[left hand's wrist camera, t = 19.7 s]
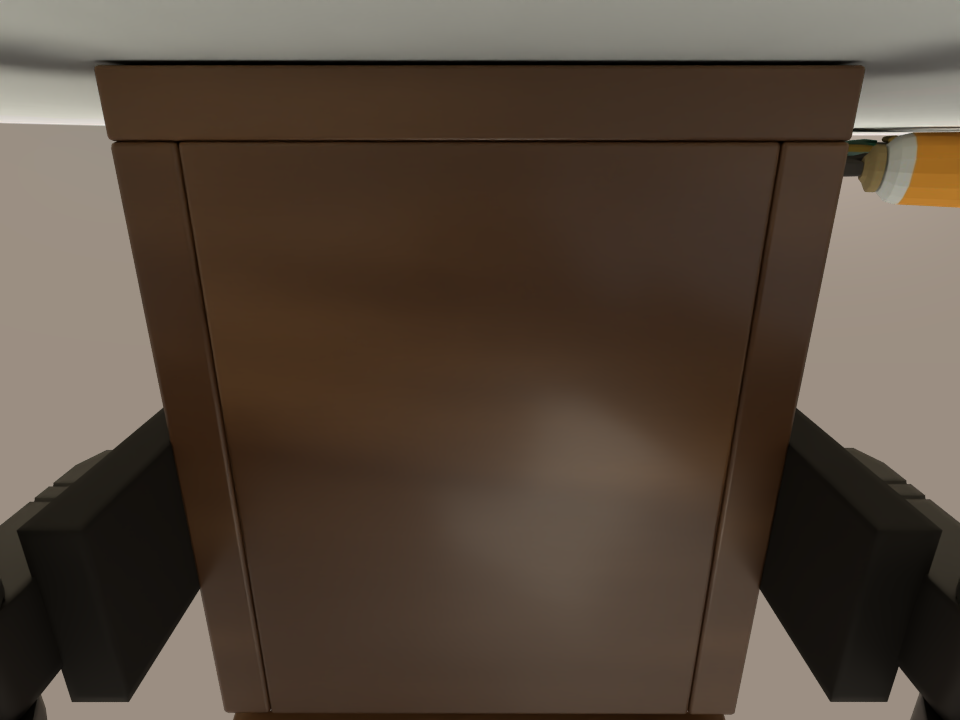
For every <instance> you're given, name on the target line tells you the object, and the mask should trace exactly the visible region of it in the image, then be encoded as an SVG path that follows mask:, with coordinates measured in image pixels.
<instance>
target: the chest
mask: <svg viewBox="0 0 960 720" xmlns="http://www.w3.org/2000/svg"><path fill="white" fill-rule="evenodd" d="M94 71H95V76H96V81H97V86H98V91H99V95H100V100H101V105H102V110H103V115H104V120H105V125H106V130H107V135H108V138H109V139H110V140H113V141H116V142H114V143H112V147H111V149H112V154H113V159H114V164H115V169H116V174H117V179H118V184H119V189H120V194H121V199H122V204H123V209H124V214H125V219H126V224H127V229H128V234H129V239H130V244H131V249H132V253H133V258H134V263H135V268H136V273H137V278H138V283H139V288H140V293H141V298H142V303H143V308H144V313H145V318H146V323H147V328H148V333H149V338H150V343H151V348H152V352H153V358H154V363H155V367H156V373H157V378H158V383H159V387H160V392H161V397H162V402H163V407H164V412H165V417H166V422H167V427H168V432H169V437H170V442H171V446H172V451H173V456H174V460H175V465H176V470H177V475H178V480H179V485H180V490H181V495H182V500H183V505H184V510H185V515H186V520H187V525H188V530H189V535H190V540H191V545H192V550H193V555H194V560H195V565H196V570H197V575H198V579H199V584H200V591H201V596H202V601H203V606H204V611H205V616H206V621H207V626H208V631H209V636H210V641H211V646H212V651H213V655H214V660H215V665H216V670H217V675H218V680H219V685H220V690H221V695H222V700H223V705H224V710H225V711H226V712H228V713H267V712H269V711H270V710H271V711H272V712H273V713H379V714H686V713H687V710H688V712H689V714H718V715H724V714H725V715H726V714H727V715H731V714H734V712H735V708H736V703H737V698H738V693H739V688H740V683H741V678H742V673H743V668H744V663H745V658H746V653H747V648H748V643H749V639H750V634H751V629H752V624H753V619H754V614H755V609H756V604H757V599H758V594H759V589H760V584H761V579H762V574H763V569H764V564H765V559H766V554H767V550H768V545H769V540H770V535H771V530H772V525H773V520H774V515H775V510H776V505H777V500H778V495H779V490H780V485H781V480H782V475H783V470H784V466H785V461H786V456H787V451H788V446H789V441H790V436H791V431H792V426H793V421H794V416H795V411H796V406H797V401H798V396H799V391H800V386H801V381H802V377H803V372H804V367H805V362H806V357H807V352H808V347H809V342H810V337H811V332H812V327H813V322H814V317H815V312H816V307H817V302H818V297H819V293H820V288H821V282H822V278H823V273H824V268H825V263H826V258H827V253H828V248H829V243H830V238H831V233H832V228H833V223H834V218H835V213H836V209H837V204H838V199H839V194H840V189H841V184H842V179H843V174H844V169H845V164H846V159H847V154H848V149H849V144H848V143H846V142H844V141H848V140H850V138H851V137H852V132H853V127H854V122H855V117H856V112H857V107H858V103H859V98H860V93H861V88H862V83H863V78H864V73H865V67H864V66H862V65H98V66H95V68H94Z"/></svg>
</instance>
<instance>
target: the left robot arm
mask: <svg viewBox="0 0 960 720" xmlns="http://www.w3.org/2000/svg"><path fill="white" fill-rule="evenodd" d="M199 589H200V584H199V579H198V575H197V570H196V565H195V560H194V555H193V550H192V545H191V540H190V535H189V530H188V525H187V520H186V515H185V510H184V505H183V500H182V495H181V490H180V485H179V480H178V475H177V470H176V465H175V460H174V456H173V451H172V446H171V442H170V437H169V432H168V427H167V422H166V417H165V412H164V408H162V409H161V410H160V411H159V412H158V413H156V414H155V415H154V416H153V417H152V418H150V419H149V420H148V421H147V422H146V423H144V424H143V425H142V426H141V427H140V428H139V429H137V430H136V431H135V432H134V433H132V434H131V435H130V436H129V437H128V438H126V439H125V440H124V441H123V442H122V443H120V444H119V445H118V446H117V447H116V448H115V449H113V450H106V451H104V452H102V453H100V454H98V455H96V456H94V457H92V458H90V459H88V460H85V461H83V462H81V463H79V464H77V465H75V466H74V467H73V468H72V469H71V470H69V471H68V472H67V473H65V474H64V475H63V476H62V477H60V478H59V479H58V480H57V481H55V482H54V485H53V487H48V488H47V489H45V490H44V491H43V492H42V493H40V494H39V495H38V496H37V497H35V501H34V502H29V503H28V504H27V505H25V506H24V507H23V508H22V509H20V510H19V511H18V512H17V513H15V514H14V515H13V516H12V517H10V518H9V519H8V520H7V521H5V522H4V523H3V524H1V525H0V720H47V715H46V708H45V705H44V702H43V699H42V696H41V693H42V692H43V691H44V690H45V688H46V687H47V686H48V685H49V683H50V682H51V681H52V680H53V678H54V677H55V676H56V674H57V673H58V672H59V671H60V670H62V673H63V676H64V679H65V682H66V685H67V688H68V691H69V694H70V697H71V700H72V702H129V701H130V699H131V698H132V696H133V694H134V693H135V691H136V690H137V688H138V686H139V685H140V683H141V682H142V680H143V678H144V677H145V675H146V674H147V672H148V670H149V669H150V667H151V666H152V664H153V662H154V661H155V659H156V658H157V656H158V655H159V653H160V651H161V650H162V648H163V647H164V645H165V643H166V642H167V640H168V639H169V637H170V635H171V634H172V632H173V631H174V629H175V627H176V626H177V624H178V623H179V621H180V620H181V618H182V616H183V615H184V613H185V612H186V610H187V608H188V607H189V605H190V604H191V602H192V600H193V599H194V597H195V595H196V594H197V592H198V591H199ZM760 590H761V592H762V593H763V595H764V597H765V598H766V600H767V601H768V603H769V605H770V606H771V608H772V609H773V611H774V613H775V614H776V616H777V617H778V619H779V621H780V622H781V624H782V625H783V627H784V628H785V630H786V632H787V633H788V635H789V636H790V638H791V640H792V641H793V643H794V644H795V646H796V648H797V649H798V651H799V652H800V654H801V656H802V657H803V659H804V660H805V662H806V663H807V665H808V667H809V668H810V670H811V672H812V673H813V675H814V676H815V678H816V680H817V681H818V683H819V684H820V686H821V687H822V689H823V691H824V692H825V694H826V695H827V697H828V699H829V700H830V701H831V702H887V701H888V698H889V695H890V692H891V689H892V686H893V682H894V679H895V676H896V673H897V670H898V667H900V668H901V670H902V671H903V672H904V673H905V675H906V676H907V677H908V678H909V680H910V681H911V682H912V683H913V685H914V686H915V687H916V688H917V690H918V691H919V692H920V693H919V696H918V699H917V702H916V705H915V708H914V711H913V714H912V717H911V719H910V720H960V523H959V522H958V521H957V520H955V519H954V518H953V517H952V516H950V515H949V514H948V513H947V512H945V511H944V510H943V509H942V508H940V507H939V506H938V505H936V504H935V503H934V502H933V501H931V500H930V499H925V495H924V494H923V493H921V492H920V491H919V490H917V489H916V488H915V487H914V486H912V485H911V484H907V483H906V480H905V479H904V478H902V477H901V476H900V475H899V474H897V473H896V472H895V471H894V470H892V469H891V468H890V467H888V466H887V465H886V464H885V463H883V462H881V461H879V460H877V459H875V458H873V457H871V456H869V455H867V454H865V453H862V452H860V451H858V450H856V449H854V448H844V447H842V446H841V445H840V444H839V443H838V442H836V441H835V440H834V439H833V438H832V437H830V436H829V435H828V434H827V433H826V432H824V431H823V430H822V429H821V428H820V427H818V426H817V425H816V424H815V423H814V422H813V421H811V420H810V419H809V418H808V417H807V416H805V415H804V414H803V413H802V412H801V411H799V410H798V409H797V408H796V411H795V416H794V421H793V426H792V431H791V436H790V441H789V446H788V451H787V456H786V461H785V466H784V470H783V475H782V480H781V485H780V490H779V495H778V500H777V505H776V510H775V515H774V520H773V525H772V530H771V535H770V540H769V545H768V550H767V554H766V559H765V564H764V569H763V574H762V579H761V584H760Z"/></svg>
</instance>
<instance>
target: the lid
mask: <svg viewBox="0 0 960 720" xmlns="http://www.w3.org/2000/svg"><path fill="white" fill-rule="evenodd" d="M233 720H725V717H724V715H718V714H689V712H687V713H686V714H379V713H273V712H272V711H269V712H267V713H235V715H234V719H233Z"/></svg>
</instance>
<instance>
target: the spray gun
mask: <svg viewBox="0 0 960 720" xmlns="http://www.w3.org/2000/svg"><path fill="white" fill-rule="evenodd" d="M882 141H883V142H877V140H868V139H861V140H850V141H844V142H846V143H848V144H849V149H848V154H847V159H846V164H845V169H844V174H843V176H858V179H859V180H860V182H861V183H862V186H863V189H864V191H865V192H876V193H877V194H878V196H879V197H880V198H881V199H882V201H885V202H889V203H892V204H900V205H920V206H940V207H959V208H960V132H913V133H909V134H905V135H900V136H897V135H896V136H885V137H883V138H882Z"/></svg>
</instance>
